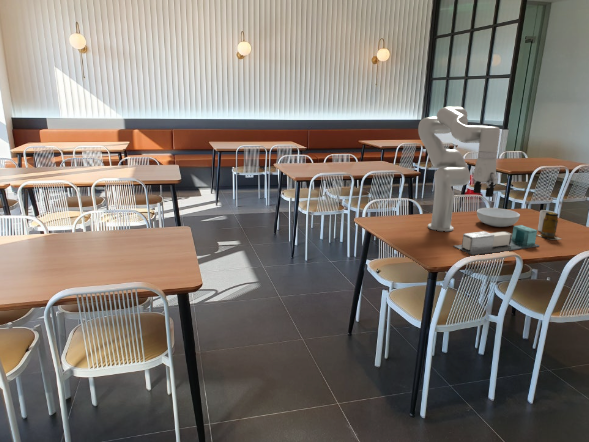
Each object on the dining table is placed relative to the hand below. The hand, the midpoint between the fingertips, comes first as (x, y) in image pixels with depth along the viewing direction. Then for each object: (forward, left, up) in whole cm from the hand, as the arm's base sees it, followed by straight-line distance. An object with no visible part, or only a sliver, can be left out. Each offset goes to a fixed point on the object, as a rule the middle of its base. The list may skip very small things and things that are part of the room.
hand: (482, 194), depth 192 cm
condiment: (-38, +24, -24) cm, 51 cm away
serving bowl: (-44, -2, -24) cm, 50 cm away
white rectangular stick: (0, +5, -23) cm, 23 cm away
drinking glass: (-49, +20, -24) cm, 58 cm away
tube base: (-5, +8, -24) cm, 25 cm away
